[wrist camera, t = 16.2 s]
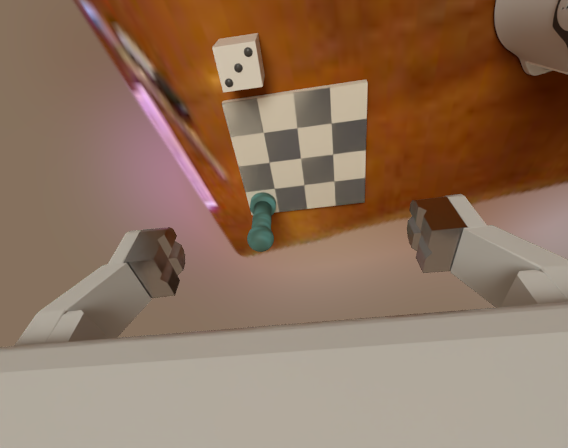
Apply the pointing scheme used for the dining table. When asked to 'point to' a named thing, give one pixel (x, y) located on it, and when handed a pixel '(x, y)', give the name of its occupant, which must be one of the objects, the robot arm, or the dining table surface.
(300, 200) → the board
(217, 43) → the die
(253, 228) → the pawn
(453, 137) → the dining table surface
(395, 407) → the robot arm
